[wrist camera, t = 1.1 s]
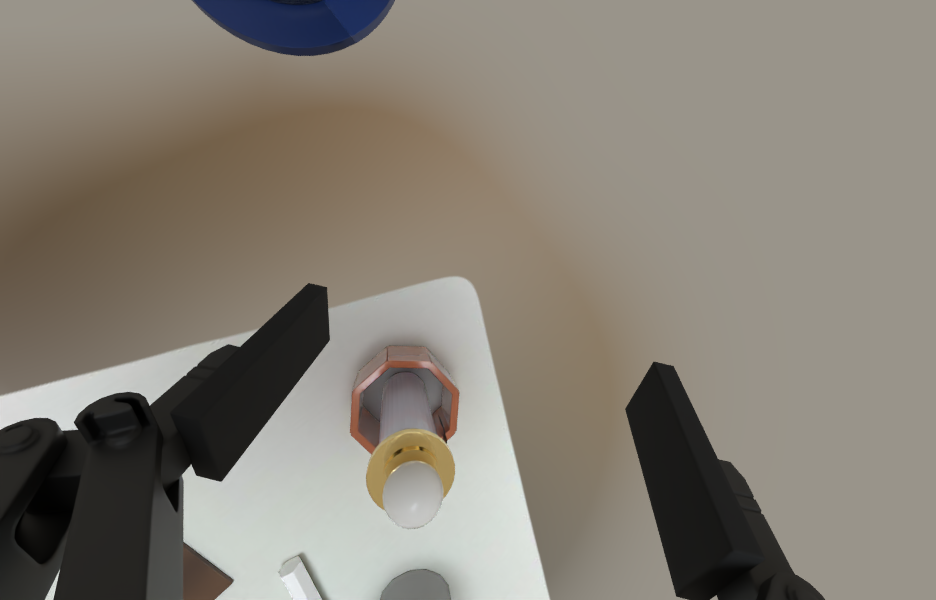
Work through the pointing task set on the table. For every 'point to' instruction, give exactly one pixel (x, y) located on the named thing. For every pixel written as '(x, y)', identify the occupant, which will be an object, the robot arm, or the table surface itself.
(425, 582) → the cup
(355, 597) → the table surface
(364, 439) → the holder
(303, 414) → the table surface
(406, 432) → the perfume bottle
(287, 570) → the marker
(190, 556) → the coaster
